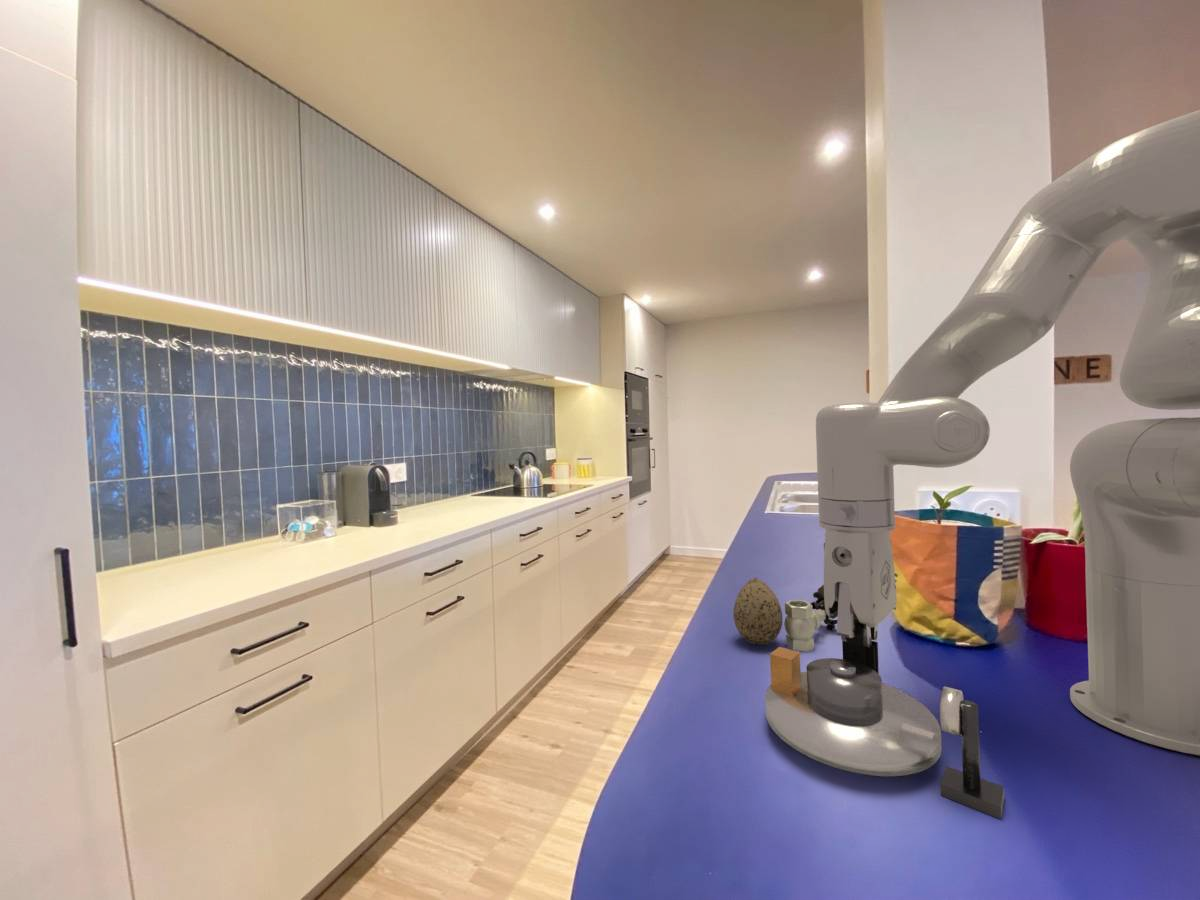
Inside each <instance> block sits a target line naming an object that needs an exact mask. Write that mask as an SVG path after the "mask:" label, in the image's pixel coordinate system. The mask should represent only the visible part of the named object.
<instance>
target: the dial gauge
mask: <svg viewBox="0 0 1200 900" xmlns="http://www.w3.org/2000/svg"><path fill="white" fill-rule="evenodd" d="M939 702H940V704H939V720H940V721H939V725H940V729H941V731H944V732H946V733H949V734H952V735H956V736H959V737H961V762H962V766H961V767H962V770H959V769H956V768H954V767H952V766H948V765H946V766H945V769H944V771H943V775H942V777H941V781H940V783H939V785H940V787H939V789H940V796H942V797H945V798H947V799H949V800H951V801H954V802H957V803H958V804H959V803H960V804H962V805H963V806H967V807H969V808H971V809H974V810H977V811H978V812H981V813H984V814H987V815H990V816H992V817H995V818H997V819H1000V820H1002V815H1003V810H1004V803H1005V786H1004V785H1000V784H998V783H995V782H992V781H989V780H987V779H984V778H981V756H980V754H981V753H980V752H981V751H980V733H979V732H980V728H979V726H980V724H979V723H980V722H979V705H978V704H977V703H975V702H974V701H970V700H967V699H965V700H964V695H963V691H962V690H960V689H956V688H953V687H949V686H948V687H947V686H942V689H941V695H940V701H939Z"/></svg>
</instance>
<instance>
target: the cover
mask: <svg viewBox="0 0 1200 900" xmlns="http://www.w3.org/2000/svg"><path fill="white" fill-rule="evenodd" d="M806 672H807V695H808V704H809V706H810V708H811V709H812V710H813V711H814V712H816V713H817V714H818V715H820V716H821V717H823V718H825V719H828V720H830V721H833V722H836V723H839V724H843V725H849V726H870V725H874V724H876V723H878V722H880V721H881V720H882V718H883V702H882V683H883V682H882V681H883V680H882V677H881V675H880V673H879V674H878V673H877V672H876V671H874V670H873V669H871V668H869V667H867V666H865V665H863V664H860V663H857V662H854V661H850V660H844V659H843V658H833V657H829V658H828V657H826V658H819V659H815V660H812V661H811V662H809V663H807V665H806Z"/></svg>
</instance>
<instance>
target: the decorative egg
mask: <svg viewBox="0 0 1200 900" xmlns="http://www.w3.org/2000/svg"><path fill="white" fill-rule="evenodd" d="M777 597H778V596H776V594H775V593H774V591H773V590H772V589H771V587H770V586H769V585H768V584H767V583H765V582H764V581H763V580H762V579H760V578H757V577H756V578H755V577H754V578H752V579H750V580H748V581H747V582H746V583H745V584H744V586H743V587H741V589H740V591H739V592H738V594H737V596H736V598H735V601H734V606H733V612H732V613H733V622H734V624H735V627H736V630H737V632H738V633H739V635H740V636H741V637H742V638H743V639H744V640H745V641H746V642H749V643H750V644H752V645H756V646H765V645H768V644H770V643H772V642H773V641H774V640H775V639H776V638H777V637H778V636H779V634H780V632H781V630H782V628H783V627H782V626H783V612H782V607H781V605H780V601H779V599H778V598H777Z"/></svg>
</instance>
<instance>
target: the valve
mask: <svg viewBox="0 0 1200 900" xmlns="http://www.w3.org/2000/svg"><path fill="white" fill-rule="evenodd" d="M812 596H813V598H816V600H815V601H812V602H809V601H806V600H803V599H802V600H800V599H791V600H788V601H786V602H785V603H784V612H785V614H786V616H785V618H784V629H785V632H786V635H785V639H786V640H785V641H786V646H787V647H788V646H789V647H788V648H789V649H790V650H793V651H796V652H803V653H809V652H810V651H812V650H814V649H815V638H814V637H813V635H814V633H815V631H816V630H817V629H819V628H820V627H821V625H822V622H823V623H824V624H825V625H826V626H825V628H826V630H828V631H832V632H833V631H834V630H835V629H836V625H837V619H831V618H830V617H829V616H828V615H827V613H826V610H825V605H822V604H821V603H822V601H823V600H824V596H823V595H822V593H821V592H819V591H818V590H817V591H815V592H813V594H812Z"/></svg>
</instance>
